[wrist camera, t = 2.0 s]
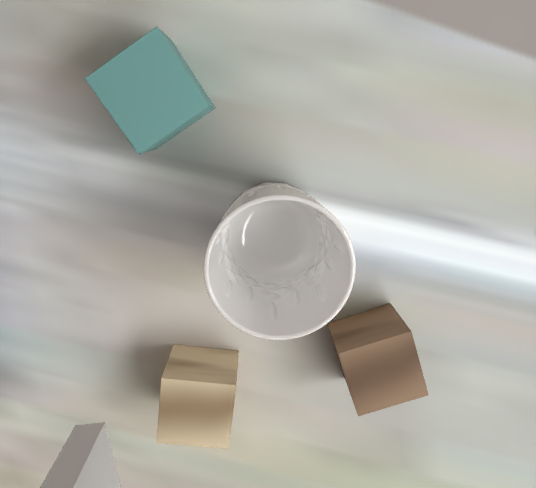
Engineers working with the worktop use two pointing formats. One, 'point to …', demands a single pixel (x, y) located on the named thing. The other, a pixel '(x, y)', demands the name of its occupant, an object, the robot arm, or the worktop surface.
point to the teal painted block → (150, 91)
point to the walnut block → (378, 359)
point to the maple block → (197, 397)
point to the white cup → (279, 263)
